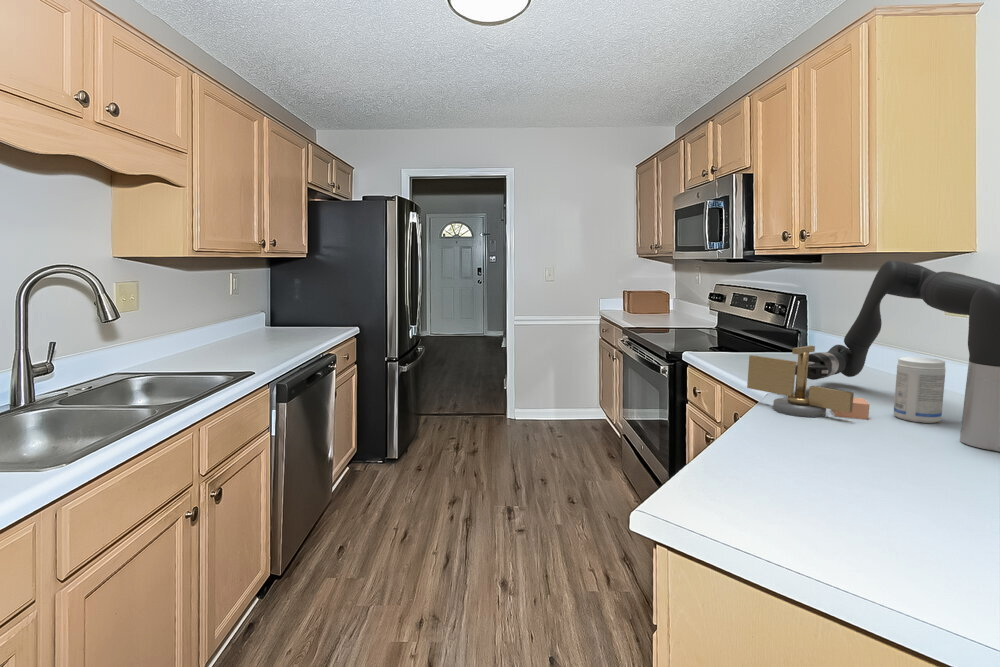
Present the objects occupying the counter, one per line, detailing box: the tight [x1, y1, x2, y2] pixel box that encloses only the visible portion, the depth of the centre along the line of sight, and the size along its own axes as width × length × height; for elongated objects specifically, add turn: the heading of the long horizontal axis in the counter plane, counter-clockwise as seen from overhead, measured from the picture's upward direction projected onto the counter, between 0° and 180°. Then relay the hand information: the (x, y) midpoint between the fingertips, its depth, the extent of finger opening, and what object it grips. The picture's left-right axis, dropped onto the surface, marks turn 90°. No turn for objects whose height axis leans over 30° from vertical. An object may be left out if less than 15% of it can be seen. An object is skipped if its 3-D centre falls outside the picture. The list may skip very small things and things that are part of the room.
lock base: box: [772, 397, 827, 418], centre depth 147 cm, size 12×12×2 cm
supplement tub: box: [893, 356, 946, 424], centre depth 141 cm, size 10×10×15 cm
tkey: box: [746, 345, 855, 413], centre depth 147 cm, size 26×9×14 cm, turn 37°
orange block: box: [830, 396, 871, 420], centre depth 145 cm, size 7×7×4 cm
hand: (789, 371), depth 159 cm, fingers closed
